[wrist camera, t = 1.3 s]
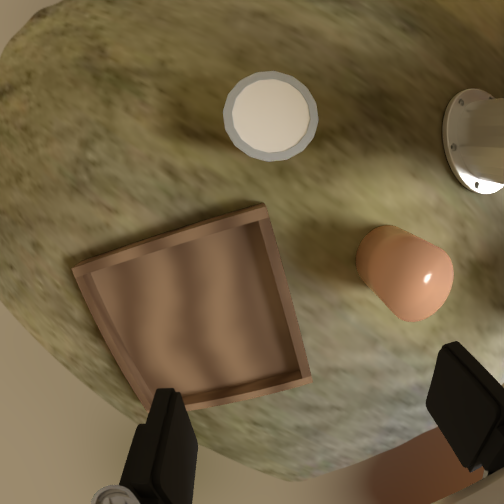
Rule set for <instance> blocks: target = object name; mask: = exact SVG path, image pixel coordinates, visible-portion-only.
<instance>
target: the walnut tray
mask: <svg viewBox="0 0 504 504" xmlns="http://www.w3.org/2000/svg"><path fill="white" fill-rule="evenodd" d="M72 272H73V274H74V277H75V279H76V281H77V283H78V286H79V288H80V290H81V293H82V295H83V297H84V299H85V301H86V303H87V306H88V308H89V310H90V312H91V314H92V316H93V318H94V320H95V322H96V324H97V326H98V328H99V330H100V332H101V334H102V336H103V338H104V340H105V342H106V344H107V345H108V347H109V349H110V351H111V353H112V355H113V356H114V358H115V360H116V362H117V363H118V365H119V367H120V369H121V370H122V372H123V374H124V376H125V377H126V379H127V381H128V382H129V384H130V386H131V387H132V389H133V390H134V392H135V394H136V395H137V397H138V398H139V400H140V402H141V403H142V405H143V406H144V408H145V409H146V411H147V412H148V414H149V411H150V408H151V405H152V401H153V398H154V395H155V392H156V389H157V388H174V389H175V391H176V392H180V393H181V396H182V399H183V402H184V405H185V408H186V411H190V410H196V409H202V408H208V407H213V406H218V405H223V404H228V403H233V402H238V401H243V400H247V399H251V398H256V397H260V396H264V395H268V394H272V393H276V392H280V391H284V390H288V389H291V388H295V387H298V386H302V385H305V384H309V383H312V382H313V380H312V376H311V372H310V368H309V364H308V360H307V356H306V353H305V349H304V345H303V341H302V337H301V333H300V329H299V325H298V321H297V318H296V314H295V310H294V306H293V302H292V299H291V295H290V291H289V287H288V284H287V280H286V276H285V272H284V269H283V265H282V261H281V258H280V254H279V250H278V247H277V243H276V240H275V236H274V232H273V229H272V225H271V222H270V218H269V215H268V211H267V208H266V205H265V204H264V203H260V204H257V205H254V206H250V207H247V208H243V209H240V210H237V211H233V212H230V213H227V214H223V215H220V216H217V217H213V218H210V219H207V220H204V221H200V222H197V223H194V224H191V225H188V226H184V227H181V228H178V229H175V230H172V231H169V232H166V233H163V234H159V235H156V236H153V237H150V238H147V239H144V240H141V241H138V242H135V243H132V244H129V245H126V246H123V247H121V248H118V249H115V250H112V251H109V252H106V253H103V254H100V255H97V256H95V257H92V258H89V259H86V260H83V261H81V262H80V263H78V264H77V265H76V266H74V267H73V268H72Z"/></svg>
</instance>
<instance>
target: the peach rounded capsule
mask: <svg viewBox="0 0 504 504" xmlns="http://www.w3.org/2000/svg"><path fill="white" fill-rule="evenodd" d="M356 269H357V272H358V275H359V276H360V278H361V279H362V280H363V281H364V283H365V284H366V285H367V286H368V287H369V288H370V289H371V290H372V291H373V292H374V293H375V294H376V295H377V296H378V297H379V298H380V299H381V300H382V301H383V302H384V303H385V305H386V306H387V307H388V308H389V309H390V310H391V311H392V312H393V313H394V314H395V315H396V316H397V317H398V318H400V319H402V320H404V321H408V322H416V321H421V320H423V319H426V318H428V317H429V316H431V315H432V314H434V313H435V312H436V311H437V310H438V309H439V308H440V307H441V306H442V305H443V303H444V302H445V300H446V299H447V297H448V295H449V293H450V290H451V287H452V283H453V276H454V272H453V265H452V262H451V259H450V257H449V256H448V254H447V253H446V252H445V251H444V250H442V249H441V248H439V247H437V246H435V245H433V244H431V243H429V242H427V241H425V240H423V239H421V238H419V237H417V236H415V235H413V234H411V233H409V232H407V231H405V230H403V229H401V228H399V227H396V226H393V225H384V226H380V227H377V228H375V229H373V230H372V231H371V232H369V233H368V234H367V235H366V236H365V237H364V238H363V240H362V241H361V243H360V245H359V247H358V250H357V254H356Z"/></svg>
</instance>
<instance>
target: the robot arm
mask: <svg viewBox="0 0 504 504" xmlns="http://www.w3.org/2000/svg"><path fill="white" fill-rule="evenodd" d="M442 131H443V144H444V150H445V154H446V157H447V160H448V163H449V165H450V167H451V170H452V171H453V173H454V175H455V176H456V178H457V179H458V180H459V181H460V182H461V184H462V185H463V186H465V187H466V188H467V189H469V190H471V191H473V192H475V193H480V194H491V193H494V192H496V191H498V190H499V189H501V188H502V187H503V186H504V98H497V99H495V98H494V97H493V96H492V95H490V94H489V93H487V92H486V91H483V90H480V89H467V90H463V91H461V92H459V93H457V94H456V95H455V96H454V97H453V98H452V99H451V101H450V102H449V104H448V106H447V108H446V111H445V115H444V119H443V128H442ZM426 407H427V410H428V411H429V413H430V414H431V416H432V417H433V419H434V421H435V422H436V424H437V425H438V427H439V428H440V430H441V432H442V433H443V435H444V436H445V438H446V439H447V441H448V443H449V444H450V446H451V447H452V449H453V451H454V452H455V454H456V456H457V457H458V459H459V461H460V462H461V464H462V465H463V467H465V468H466V467H467V468H468V470H469V472H473V471H475V470H476V469H478V468H480V467H481V466H483V467H484V469H485V470H484V475H483V479H482V480H480V481H478V482H476V483H474V484H472V485H470V486H469V487H466V488H464V489H462V490H460V491H458V492H456V493H454V494H452V495H450V496H448V497H445V498H443V499H441V500H439V501H436V502H434V503H432V504H504V388H503V387H502V386H501V385H500V384H499V383H498V381H497V380H496V379H495V378H494V377H493V376H492V375H491V374H490V373H489V372H488V371H487V370H486V369H485V368H484V367H483V366H482V365H481V364H480V363H479V362H478V361H477V360H476V359H475V358H474V357H473V356H472V355H471V354H470V353H469V352H468V351H467V350H466V349H465V348H464V347H463V346H462V345H461V344H460V343H459V342H458V341H455V342H451V343H448V344H445V345H443V346H442V349H441V350H440V351H439V353H438V357H437V361H436V365H435V370H434V374H433V377H432V381H431V385H430V389H429V392H428V396H427V399H426ZM197 452H198V443H197V439H196V436H195V433H194V431H193V428H192V425H191V422H190V419H189V416H188V414H187V411H186V408H185V405H184V402H183V399H182V396H181V393H180V392H176V391H175V389H174V388H157V389H156V392H155V395H154V398H153V401H152V405H151V408H150V411H149V414H148V418H147V421H146V424H139V425H138V426H137V429H136V431H135V435H134V438H133V441H132V444H131V447H130V450H129V453H128V457H127V460H126V463H125V466H124V470H123V473H122V476H121V480H120V483H119V485H109V486H106V487H103V488H101V489H100V490H98V491H97V492H96V493H95V494H94V496H93V498H92V501H91V504H192V498H193V489H194V480H195V470H196V461H197Z"/></svg>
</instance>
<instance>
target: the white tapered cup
mask: <svg viewBox="0 0 504 504" xmlns="http://www.w3.org/2000/svg"><path fill="white" fill-rule="evenodd" d="M223 117H224V124H225V130H226V132H227V133H228V135H229V137H230V138H231V140H232V142H233V144H234V145H235V146H236V147H237V148H239V149H240V150H241V151H243V152H244V153H245V154H247V155H248V156H249V157H252V158H256V159H260V160H263V161H267V162H271V161H280V160H287V159H289V158H291V157H293V156H295V155H296V154H298V153H300V152H302V151H303V150H304V149H305V148H306V146H307V145H308V144H309V143H310V142H311V140H312V139H313V138H314V135H315V132H316V128H317V124H318V121H319V120H318V112H317V105H316V102H315V100H314V98H313V97H312V95H311V93H310V92H309V90H308V88H307V87H306V86H305V85H303V84H302V83H301V82H299V81H298V80H297V79H296V78H294V77H293V76H290V75H287V74H284V73H280V72H277V71H267V72H256V73H254V74H252V75H250V76H248V77H246V78H244V79H242V80H240V81H239V82H238V83H237V84H236V86H235V87H234V88H233V89H232V90H231V91H230V93H229V94H228V96H227V99H226V103H225V106H224V109H223Z"/></svg>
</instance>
